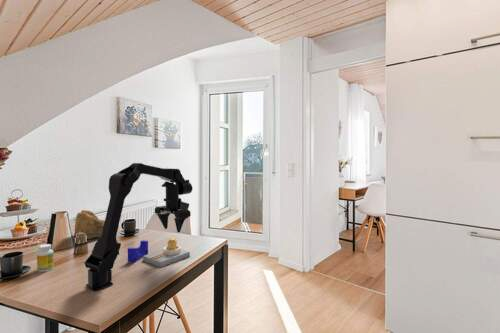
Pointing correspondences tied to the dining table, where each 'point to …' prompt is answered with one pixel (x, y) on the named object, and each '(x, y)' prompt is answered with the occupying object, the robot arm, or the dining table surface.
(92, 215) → the rough brown rock
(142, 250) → the cable clip
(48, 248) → the supplement bottle
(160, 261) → the plate
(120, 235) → the dining table surface
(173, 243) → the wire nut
